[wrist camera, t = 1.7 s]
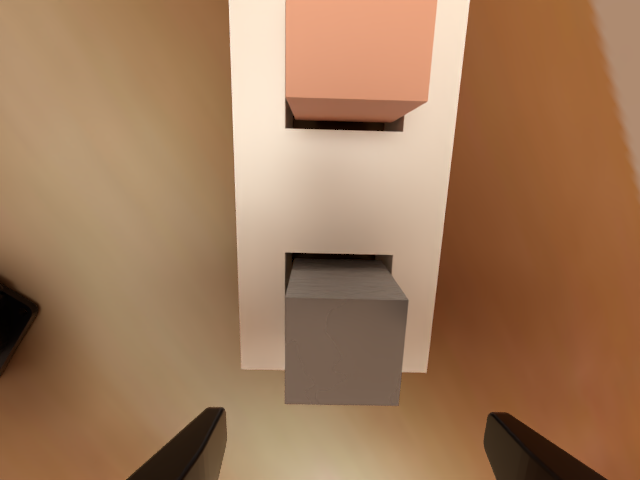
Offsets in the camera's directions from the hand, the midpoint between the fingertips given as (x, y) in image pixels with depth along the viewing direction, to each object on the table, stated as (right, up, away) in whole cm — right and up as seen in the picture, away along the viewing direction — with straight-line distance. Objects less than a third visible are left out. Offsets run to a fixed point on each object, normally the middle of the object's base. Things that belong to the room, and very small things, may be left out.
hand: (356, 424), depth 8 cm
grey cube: (0, +2, +7) cm, 8 cm away
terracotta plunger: (0, +11, +5) cm, 12 cm away
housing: (0, +7, +10) cm, 12 cm away
